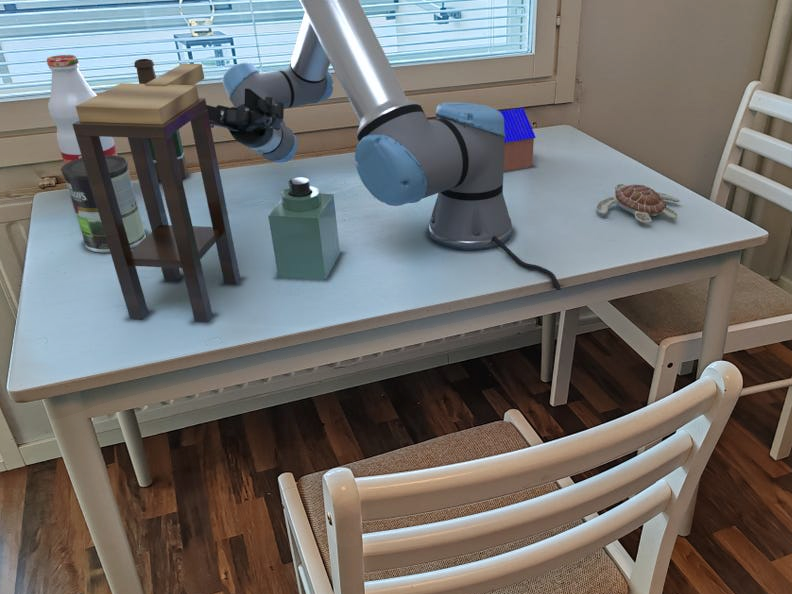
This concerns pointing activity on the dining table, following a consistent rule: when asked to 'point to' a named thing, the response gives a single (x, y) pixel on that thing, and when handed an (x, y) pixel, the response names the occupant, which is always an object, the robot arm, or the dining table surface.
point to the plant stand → (161, 207)
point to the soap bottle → (304, 235)
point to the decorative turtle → (639, 202)
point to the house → (517, 140)
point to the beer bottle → (147, 75)
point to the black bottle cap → (299, 187)
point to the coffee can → (88, 209)
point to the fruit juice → (70, 105)
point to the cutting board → (145, 99)
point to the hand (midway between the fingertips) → (205, 95)
